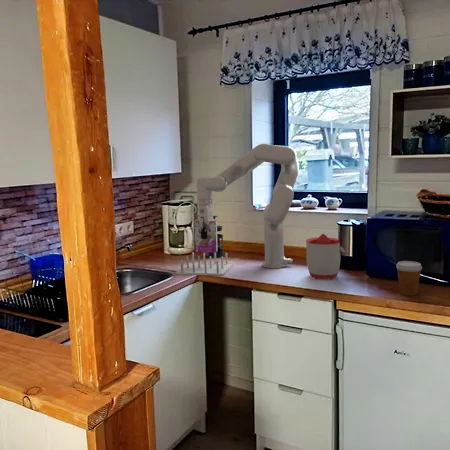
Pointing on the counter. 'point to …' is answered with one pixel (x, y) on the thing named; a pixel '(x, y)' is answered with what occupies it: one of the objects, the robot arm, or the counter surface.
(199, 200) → the robot arm
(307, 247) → the citrus juicer
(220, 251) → the french press
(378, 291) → the counter surface
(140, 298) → the counter surface
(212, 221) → the candy bar box
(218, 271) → the dish rack
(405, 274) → the disposable coffee cup
